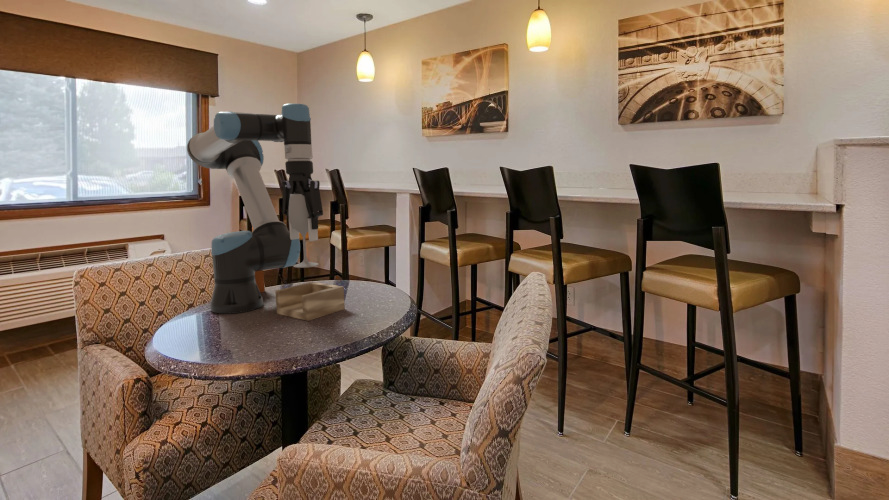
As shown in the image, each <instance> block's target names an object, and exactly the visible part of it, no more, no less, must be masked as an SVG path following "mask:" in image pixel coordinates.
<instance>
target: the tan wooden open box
mask: <svg viewBox="0 0 889 500" xmlns="http://www.w3.org/2000/svg"><path fill="white" fill-rule="evenodd" d="M274 291H275V292H274V293H275V305H276V306H275V307H276V314H277V315H281V316H285V317H290V318H294V319H299V320H303V321H309V322H310V321H312V320H314V319H319V318H321V317H325V316H328V315H331V314H334V313H337V312H340V311H344V310H345V309H346V308H345V307H346V305H345V302H346V301H345V286H342V285H341V286H340V285H336V284H335V285H334V284H328V283H322V282H316V281H310V282H306V283H302V284H297V285H293V286H290V287H285V288H281V289H277V290H274Z"/></svg>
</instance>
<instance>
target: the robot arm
mask: <svg viewBox="0 0 889 500" xmlns="http://www.w3.org/2000/svg"><path fill="white" fill-rule="evenodd" d="M308 106H309V105H307V104H304V103H285V104H283V105H282V106H281V114H266V113H252V112H251V113H250V112H249V113H248V112H235V111H234V112H233V111H230V110H229V111H218V112H216V114H215V115H214V118H213V126H212V127H210V128H209V129H207V130H206V131H205V132H200V133H196V134H195V135H193V136H192V137H191V138H190V139H189V140H188V142H187V145H186V151H187V153H188V156H189V158H190V160H192V161H193V162H194V163H195V164H197V165H198V166H201V167H202V168H205V169H210V170H225V171H226V172H227V175H228V176H229V177H230V178H232V179H234V181H235V184H236V187H237V188H238V191H239V194H240V197H241V199H242V202H243V204H244V208H245V211H246V213H247V215H248V218H249V221H250V223H251V227H252V231H250V230H241V231H240V230H239V231H231V232H227V233H223V234H222V233H221V234H220V235H217V236H215V237H214V238H213V239H212V240H211V251H210V254H211V257H212V259H211V260H212V268H213V269H212V270H213V278H214V287H213V292H212V294H211V300H210V303H209V304H210V311H211V312H212V313H216V314H238V313H246V312H249V311H253V310H257V309H259V308H261V307H263V305H264V299H263V296H262V293H260V291H259V289H258V286H257V284H256V282H255V271H262V270H263V271H267V270H268V271H269V270H275V269H285V268H288V267H292V266H293V265H295V264H297V262H298V260H299V258H300V256H301V255H300V253H301V242H300V233H299V232H298V231H297V230H296V229H294V228H293V227H292V225H291V224H290V221H289V199H290V194H302V195H303V196H304V197H305V202H306V207H307V211H308V214H309V217H308V232H307V233H308V242H316V241H319V233H318V229H319V217H321V216H324V210H323V203H322V198H321V191H320V185H321V182H320V181H319V180H313V179H312V174H313V173H314V164H313V161H312V159H313V157H314V156H313V148H312V147H313V145H312V128H311V127H312V126H311V125H312V124H311V113H310V107H308ZM260 141H265V142H273V143H283V145H284V159H286V162H285V174H286V175H289V176H288V177H289V178H288V180H283V181H282V182H281V185H282V215H283V216H284V215H285V216H286V217H287V221H288V227H287V225H286V223H285V222H283V221H280V220H279V217H278V215H277V212H276V209H275V207H274V205H273V202H272V199H271V197H270V194H269V192H268V190H267V188H266V185H265V183H264V180H263V177H262V175H261V172H260V170H261V169H262V166H263V164H264V158H265V157H264V151H263V148H262V145H261V143H260Z"/></svg>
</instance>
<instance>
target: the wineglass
mask: <svg viewBox="0 0 889 500" xmlns="http://www.w3.org/2000/svg"><path fill="white" fill-rule="evenodd" d="M308 217H309V214H308V211H307V207H306V202H305V197H304V196H303V195H302V194H290V199H289V221H290V224H291V225H292V227H293V228H294V229H296V230H297V231H298V232H299V234H301V237H302V245H303V248H302V249H303V260H302V262H299V263H296V264H294V265H293V268H297V269H302V268H303V269H306V268H307V269H308V268H312V267H314V268H315V267H318V266H319V265H320V264H319V263H318V262H312V261H309V260H308V257H307V244H306V236H307V233H308Z"/></svg>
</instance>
